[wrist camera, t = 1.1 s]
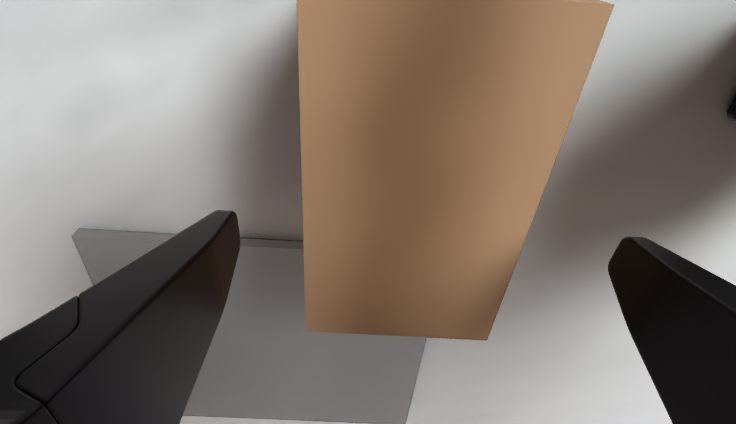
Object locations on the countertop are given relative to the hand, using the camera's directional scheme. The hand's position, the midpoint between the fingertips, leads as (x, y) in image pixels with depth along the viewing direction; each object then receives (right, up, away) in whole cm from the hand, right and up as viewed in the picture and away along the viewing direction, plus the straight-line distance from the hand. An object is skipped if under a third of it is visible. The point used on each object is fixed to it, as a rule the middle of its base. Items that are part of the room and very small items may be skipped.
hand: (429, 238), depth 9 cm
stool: (0, +5, +7) cm, 8 cm away
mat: (-7, -7, +15) cm, 18 cm away
